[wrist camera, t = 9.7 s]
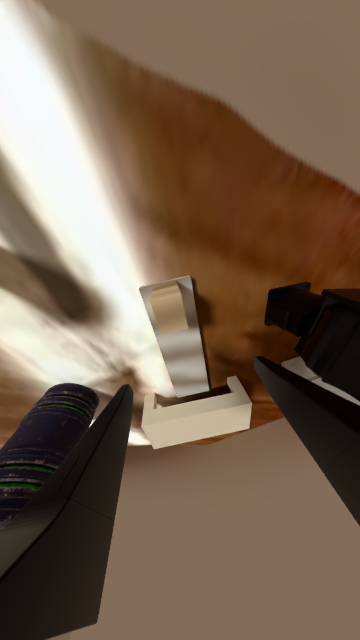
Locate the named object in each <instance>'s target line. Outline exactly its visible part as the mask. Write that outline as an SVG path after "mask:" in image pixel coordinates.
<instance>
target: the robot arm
mask: <svg viewBox="0 0 360 640" xmlns="http://www.w3.org/2000/svg"><path fill="white" fill-rule="evenodd" d="M310 288H311V283H310V282H304V283H299V284H294V285H289V286H284V287H279V288H274V289H271V290H270V291H269V293H268V301H267V308H266V315H265V325H266V326H271V325H278V326H279V327H281V328H282V329H284V330H285V329H286V330H288V331H289V332H291V333H292V334H294V335H295V336H297V337H299V336H301V338H300V340H299V342H298V345H296V347H295V350H296V352H297V353H298V354H299V355H300V357H301V358H302V359H303V361H304V362H305V365H306V366H307V367H308V368H309V369H310V370H311V371H312V372H313V373H314V374H315V375H317V376H318V377H320V378H321V381H322V382H324V383H327V384H329V385H331V386H334V387H336V388H338V389H340V390H341V391H343V392H345V393H347V394H349V395H350V396H352V397H353V398H355V399H356V400H358V401H359V402H360V289H323V291H322V293H321V294H322V295H318V294H315V293H311V292H309V291H310ZM272 292H273V293H272ZM268 322H269V323H268ZM254 368H255V370H256V372H257V374H258V376H259V377H260V379H261V381H262V383H263V385H264V386H265V388H266V390H267V391H268V393H269V394H270V396H271V397H272V399H273V400H274V402H275V403H276V405H277V406H278V407H279V409H280V410H281V412H282V413H283V415H284V416H285V418H286V419H287V421H288V422H289V423H290V425H291V426H292V428H293V429H294V431H295V432H296V434H297V435H298V437H299V438H300V439H301V441H302V442H303V444H304V445H305V447H306V448H307V450H308V451H309V453H310V454H311V456H312V457H313V458H314V460H315V461H316V463H317V464H318V466H319V467H320V469H321V470H322V472H323V473H324V474H325V476H326V478H327V479H328V480H329V482H330V483H331V485H332V486H333V488H334V489H335V491H336V492H337V494H338V495H339V497H340V498H341V499H342V501H343V502H344V504H345V505H346V507H347V508H348V510H349V511H350V512H351V514H352V515H353V517H354V518H355V520H356V521H357V523H358V524H359V526H360V405H358V404H356V403H354V402H351V401H349V400H347V399H345V398H343V397H341V396H339V395H337V394H335V393H333V392H331V391H329V390H327V389H324V388H323V387H321V386H319V385H317V384H315V383H313V382H311V381H309V380H307V379H305V378H303V377H302V376H300V375H298V374H296V373H294V372H292V371H290V370H288V369H286V368H284V367H282V366H280V365H278V364H276V363H274V362H272V361H270V360H268V359H266V358H264V357H262V356H257V357H255V358H254ZM132 407H133V390H132V388H131V386H130V385H129V384H124V385H122V386H121V388H120V389H119V390H118V392H117V393H116V394H115V395H114V397H113V398H112V399H111V401H110V402H109V403H108V404H107V406H106V407H105V408H104V410H103V411H102V412H101V414H100V415H99V416H98V417H97V419H96V420H95V421H94V423H93V424H92V425H91V426H90V428H89V429H88V430H87V432H86V433H85V434H84V435H83V437H82V438H81V439H80V441H79V442H78V443H77V444H76V446H75V447H74V448H73V450H72V451H71V452H70V453H69V455H68V456H67V457H66V458H65V460H64V461H63V462H62V463H61V464H60V466H59V467H58V468H57V469H56V470H55V472H54V473H53V474H52V475H51V476H50V477H49V479H48V480H47V481H46V482H45V483H44V484H43V486H42V487H41V488H40V489H39V490H38V491H37V493H36V494H35V495H34V496H33V497H32V498H31V500H30V501H29V502H28V503H27V504H26V505H25V506H24V508H23V509H22V510H21V511H20V512H19V513H18V514H17V515H16V516H15V517H14V518H13V520H12V521H11V522H9V523H8V524H7V525H6V526H5V527H4V528H3V529H2V530H1V531H0V640H69V637H70V633H71V632H72V631H75V630H78V629H81V628H84V627H87V626H90V625H93V624H96V623H97V620H98V614H99V609H100V603H101V597H102V592H103V586H104V579H105V574H106V568H107V562H108V555H109V550H110V544H111V538H112V532H113V527H114V519H115V514H116V508H117V502H118V496H119V490H120V484H121V478H122V472H123V467H124V460H125V455H126V449H127V443H128V437H129V431H130V425H131V419H132Z"/></svg>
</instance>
